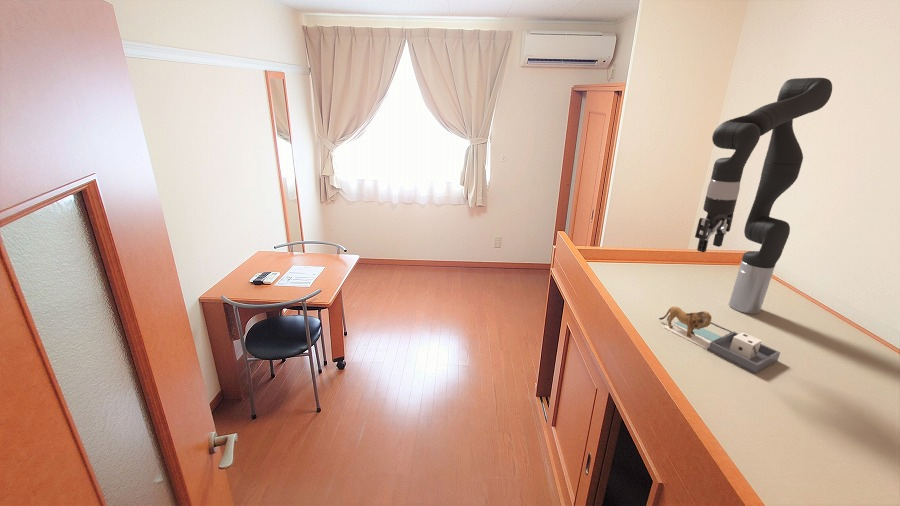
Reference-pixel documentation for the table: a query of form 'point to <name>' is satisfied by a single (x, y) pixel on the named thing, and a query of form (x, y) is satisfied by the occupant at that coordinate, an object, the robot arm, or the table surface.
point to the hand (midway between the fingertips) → (709, 248)
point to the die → (745, 345)
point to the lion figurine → (689, 319)
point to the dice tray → (753, 365)
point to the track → (700, 336)
